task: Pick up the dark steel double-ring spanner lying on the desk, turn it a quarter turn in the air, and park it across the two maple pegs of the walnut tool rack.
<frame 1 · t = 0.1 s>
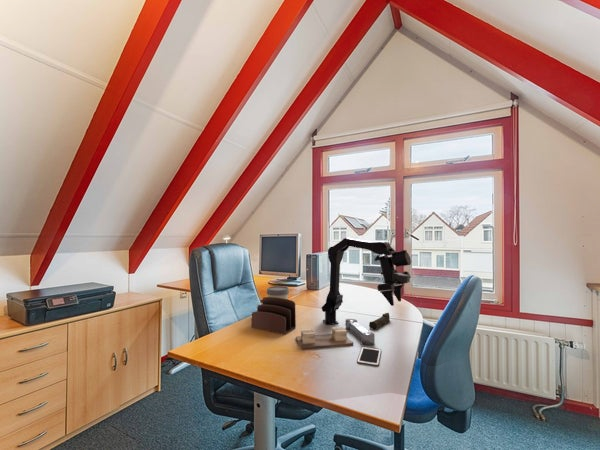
hand: (396, 303, 127), 15 cm above the table, tool pointing down, fingers open, 9 cm apart
cell phone: (369, 358, 109), on the table
spanner: (359, 335, 130), on the table
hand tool: (380, 325, 145), on the table
letter holder: (273, 328, 140), on the table
reusable coffee cup: (277, 315, 161), on the table
tool rack: (323, 342, 122), on the table
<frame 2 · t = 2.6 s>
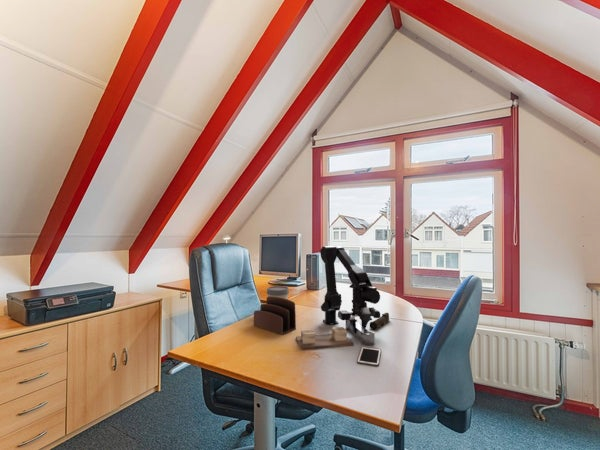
hand: (358, 333, 130), 1 cm above the table, tool pointing down, fingers closed on spanner, 3 cm apart
spanner: (359, 335, 130), on the table, touching gripper
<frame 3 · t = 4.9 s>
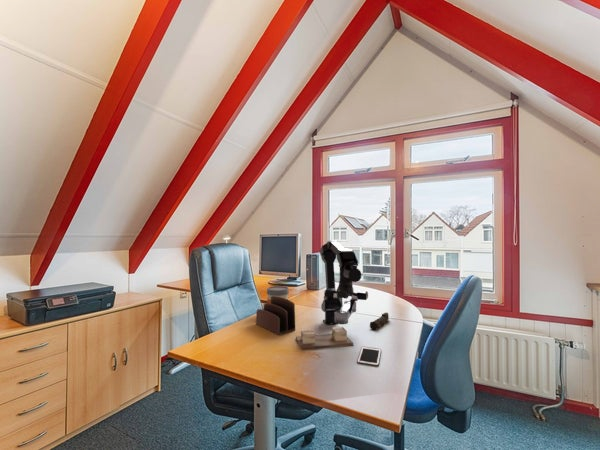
hand: (346, 313, 127), 11 cm above the table, tool pointing down, fingers closed on spanner, 3 cm apart
spanner: (346, 316, 127), point 10 cm above the table, touching gripper
when the fingers open (7 cm above the table, at t = 7.0 s): spanner drops 1 cm, resting on tool rack.
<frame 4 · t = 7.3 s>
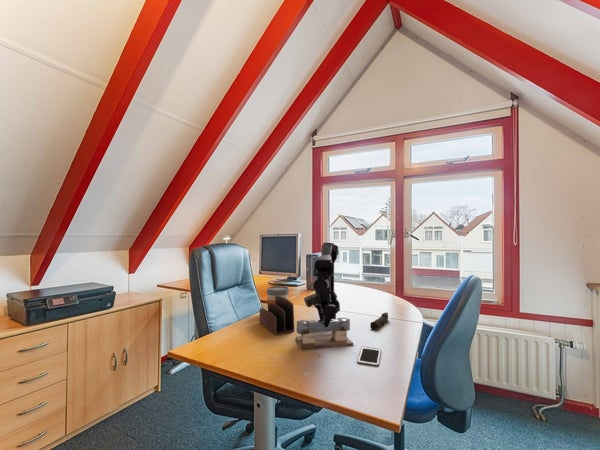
hand: (323, 324, 122), 7 cm above the table, tool pointing down, fingers open, 6 cm apart
spanner: (323, 330, 122), point 5 cm above the table, touching tool rack
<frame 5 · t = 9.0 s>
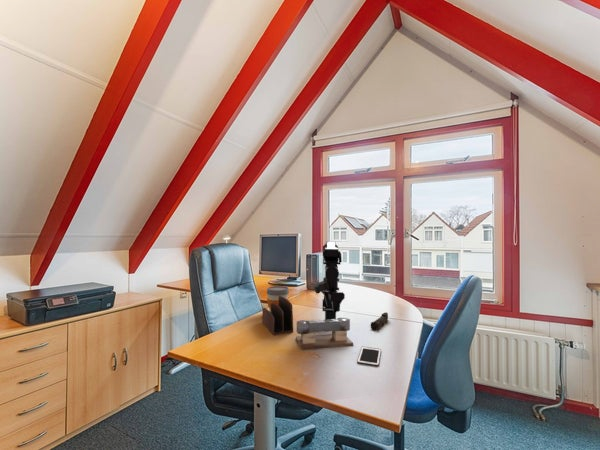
hand: (331, 309, 130), 12 cm above the table, tool pointing down, fingers open, 9 cm apart
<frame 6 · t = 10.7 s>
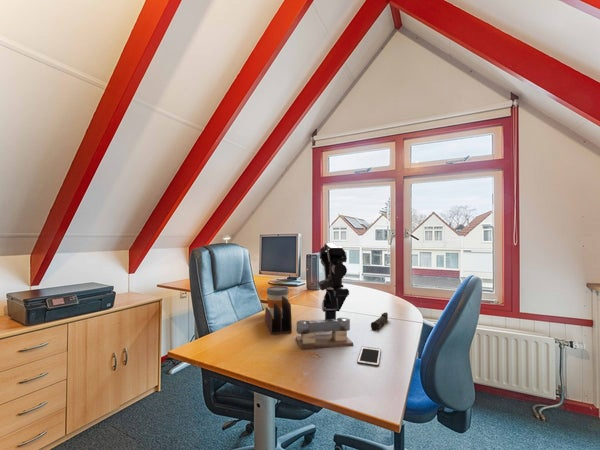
hand: (335, 306, 134), 12 cm above the table, tool pointing down, fingers open, 9 cm apart
at the end: spanner inside the target area on the tool rack (0.1 cm from its centre), point 5.0 cm above the tool rack's base; spanner tilted 0°; spanner touching tool rack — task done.
